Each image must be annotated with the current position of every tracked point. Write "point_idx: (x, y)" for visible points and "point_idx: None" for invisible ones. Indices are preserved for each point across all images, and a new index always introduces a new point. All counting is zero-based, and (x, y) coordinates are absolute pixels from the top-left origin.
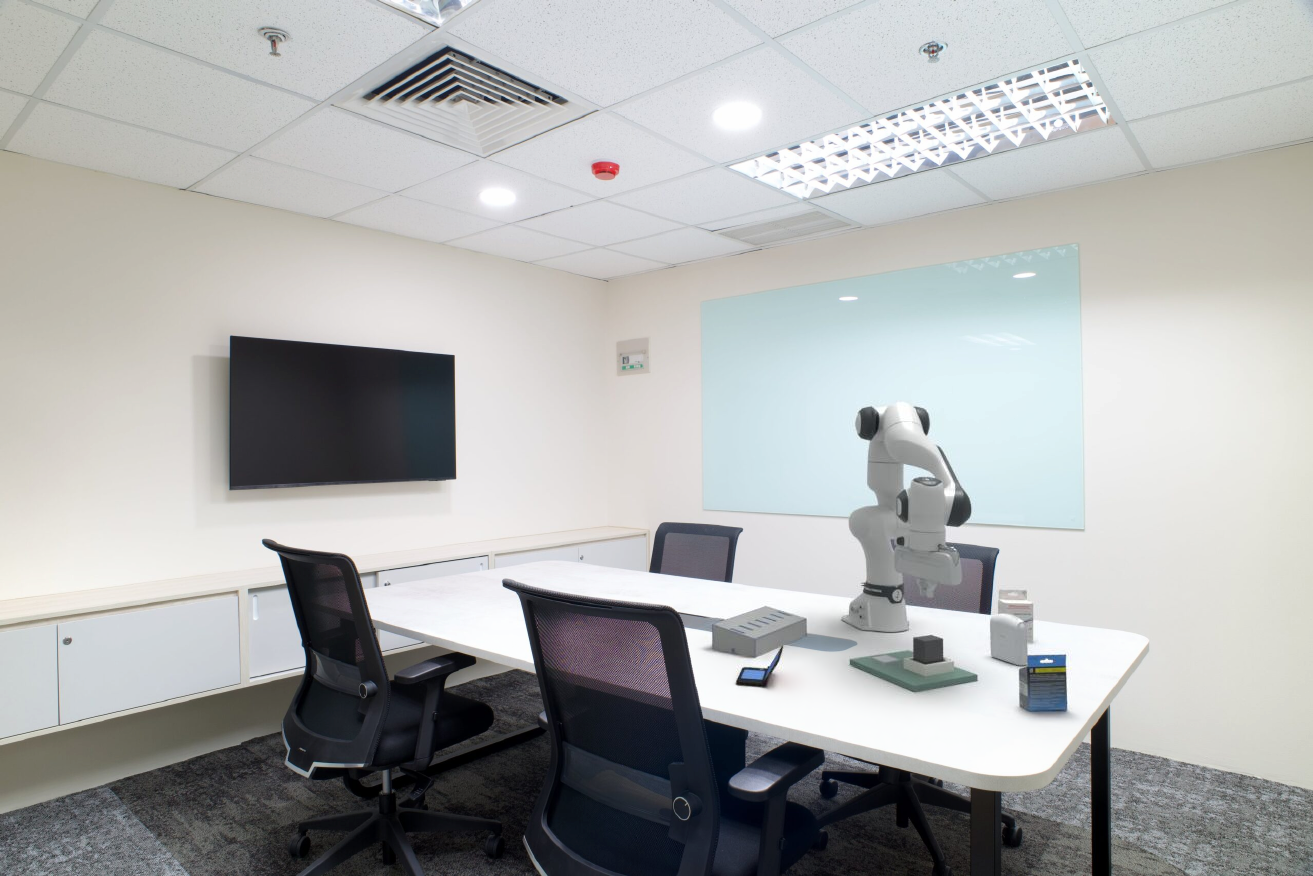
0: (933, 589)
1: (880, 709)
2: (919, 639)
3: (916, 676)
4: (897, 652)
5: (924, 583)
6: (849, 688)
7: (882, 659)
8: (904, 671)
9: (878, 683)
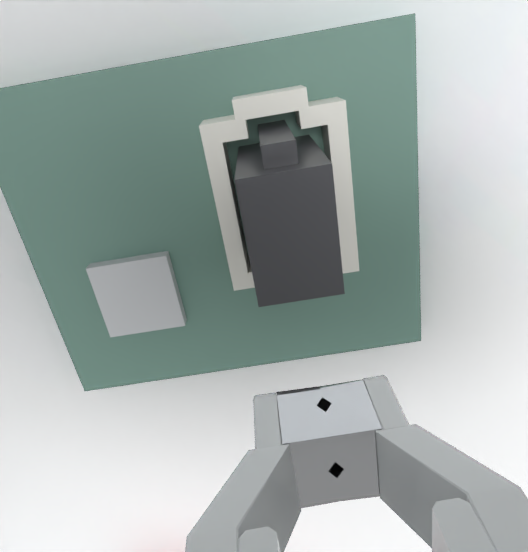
0: (431, 446)
1: None
2: (303, 298)
3: None
4: (2, 172)
5: (256, 512)
6: None
7: (144, 314)
8: None
9: (299, 382)
